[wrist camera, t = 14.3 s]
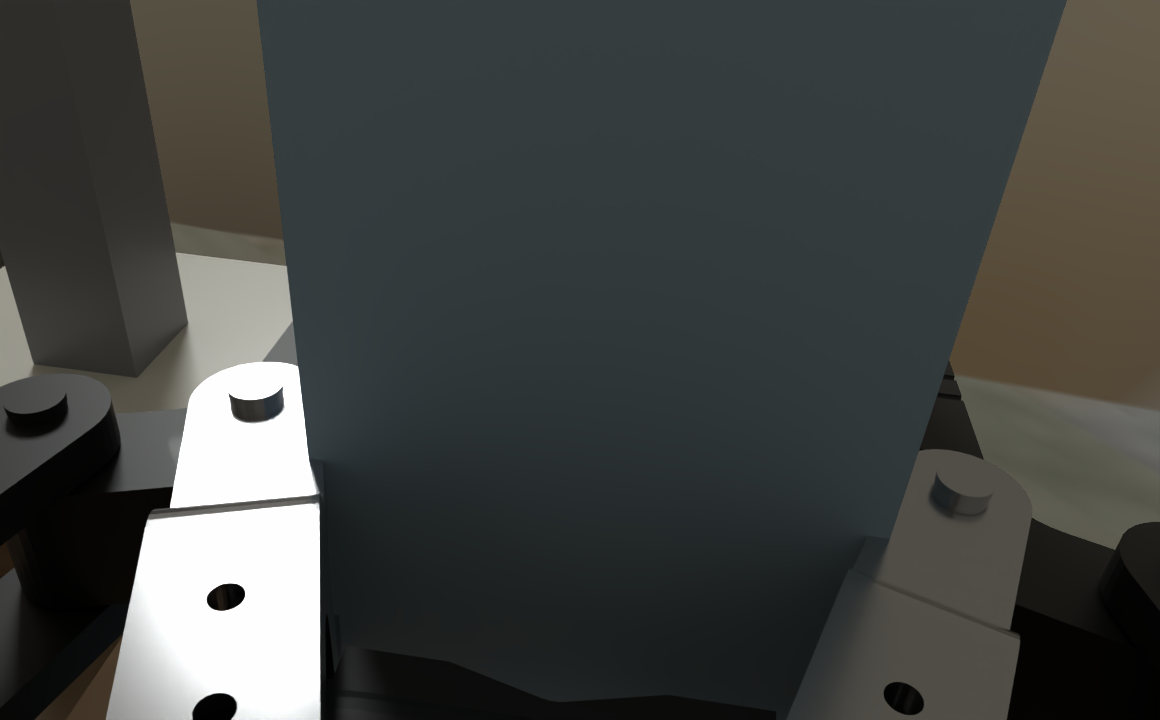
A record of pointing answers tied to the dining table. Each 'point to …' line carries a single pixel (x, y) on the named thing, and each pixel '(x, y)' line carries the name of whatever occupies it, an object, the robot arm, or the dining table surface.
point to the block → (629, 312)
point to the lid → (106, 224)
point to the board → (80, 678)
